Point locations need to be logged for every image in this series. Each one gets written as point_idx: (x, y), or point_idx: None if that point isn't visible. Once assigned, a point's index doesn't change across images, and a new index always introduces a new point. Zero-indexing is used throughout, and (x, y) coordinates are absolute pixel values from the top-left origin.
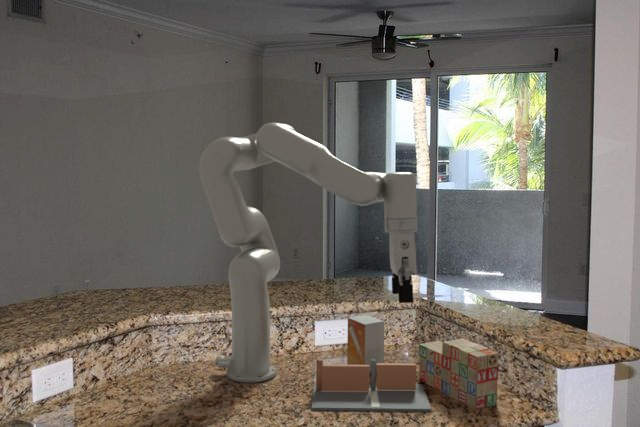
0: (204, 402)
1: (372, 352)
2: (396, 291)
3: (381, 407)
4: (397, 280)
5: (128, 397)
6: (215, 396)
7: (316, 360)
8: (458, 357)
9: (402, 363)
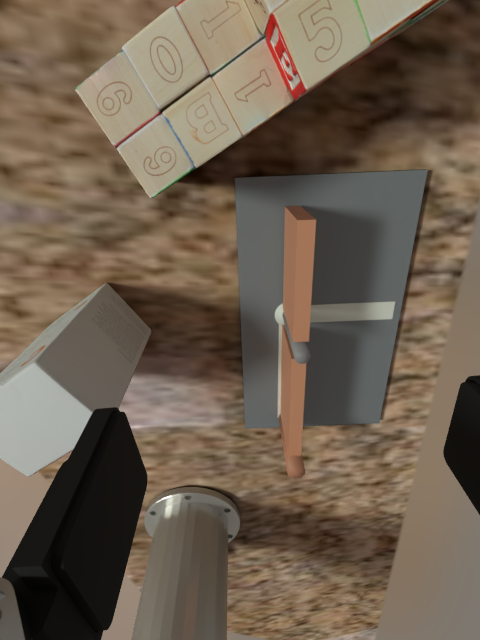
0: (326, 546)
1: (120, 340)
2: (138, 475)
3: (397, 297)
4: (102, 577)
5: (303, 610)
6: (301, 540)
7: (298, 477)
8: (410, 16)
9: (296, 265)
